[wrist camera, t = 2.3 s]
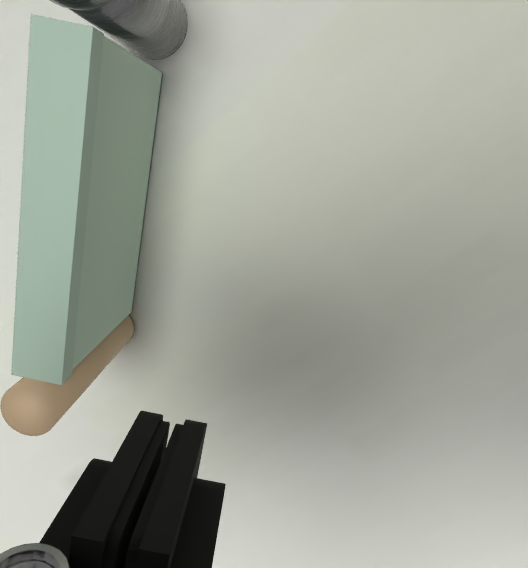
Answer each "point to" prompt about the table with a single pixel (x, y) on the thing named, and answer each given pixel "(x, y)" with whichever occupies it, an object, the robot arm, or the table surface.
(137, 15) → the hinge post
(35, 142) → the gate
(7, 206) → the table surface
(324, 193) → the table surface
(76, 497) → the robot arm
